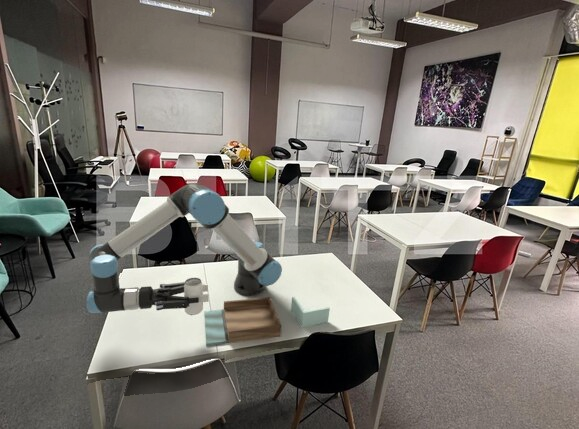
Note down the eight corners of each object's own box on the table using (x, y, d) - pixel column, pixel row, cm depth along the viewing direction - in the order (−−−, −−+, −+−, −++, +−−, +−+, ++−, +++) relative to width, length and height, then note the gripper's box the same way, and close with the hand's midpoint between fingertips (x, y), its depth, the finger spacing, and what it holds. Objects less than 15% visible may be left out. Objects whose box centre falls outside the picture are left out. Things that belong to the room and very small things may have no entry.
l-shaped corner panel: (327, 323, 135) (329, 308, 133) (301, 328, 131) (303, 312, 128) (315, 307, 146) (316, 293, 143) (290, 311, 141) (292, 297, 139)
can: (188, 304, 121) (187, 276, 118) (205, 306, 121) (204, 277, 118) (182, 314, 115) (181, 285, 111) (199, 316, 115) (199, 286, 111)
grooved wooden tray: (204, 313, 134) (204, 303, 133) (269, 306, 142) (270, 297, 141) (206, 345, 116) (206, 334, 115) (280, 336, 124) (281, 325, 123)
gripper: (144, 292, 121) (207, 287, 127) (135, 324, 103) (209, 317, 110) (143, 275, 119) (207, 271, 125) (133, 304, 101) (209, 298, 107)
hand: (208, 292), depth 117 cm, fingers closed on can, 6 cm apart
